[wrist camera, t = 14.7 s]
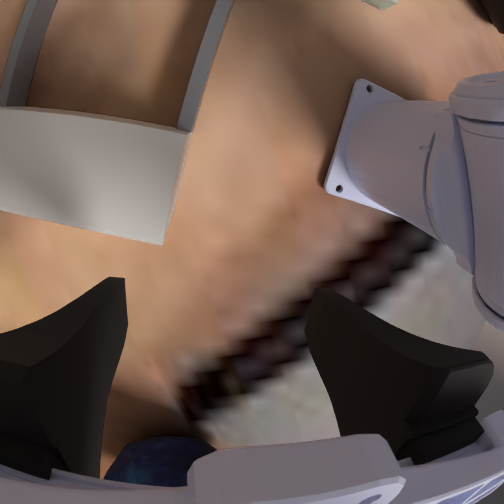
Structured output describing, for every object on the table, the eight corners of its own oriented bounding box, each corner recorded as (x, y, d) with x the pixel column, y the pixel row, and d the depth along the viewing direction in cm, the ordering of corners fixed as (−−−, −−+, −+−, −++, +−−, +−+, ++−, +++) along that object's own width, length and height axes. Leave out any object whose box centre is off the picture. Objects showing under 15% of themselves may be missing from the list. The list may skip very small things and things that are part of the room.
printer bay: (244, -27, 14) (259, -73, 9) (174, 209, 20) (161, 245, 14) (67, -40, 11) (32, -75, 6) (7, 177, 17) (-45, 200, 11)
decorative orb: (89, 497, 25) (167, 594, 16) (59, 432, 20) (165, 584, 10) (182, 456, 35) (263, 533, 26) (191, 384, 30) (306, 485, 21)
